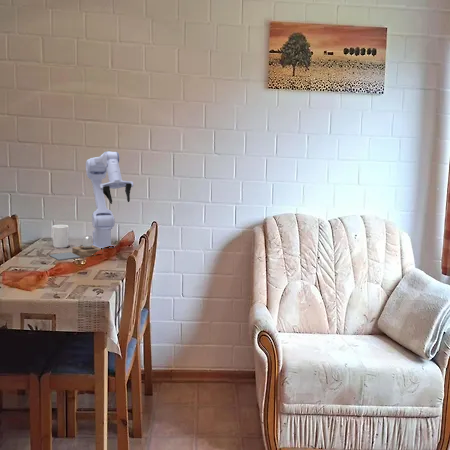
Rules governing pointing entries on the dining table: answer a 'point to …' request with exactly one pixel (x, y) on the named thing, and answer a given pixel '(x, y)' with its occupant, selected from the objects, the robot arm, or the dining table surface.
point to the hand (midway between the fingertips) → (120, 201)
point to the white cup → (60, 235)
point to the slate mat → (64, 256)
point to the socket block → (84, 251)
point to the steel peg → (87, 242)
